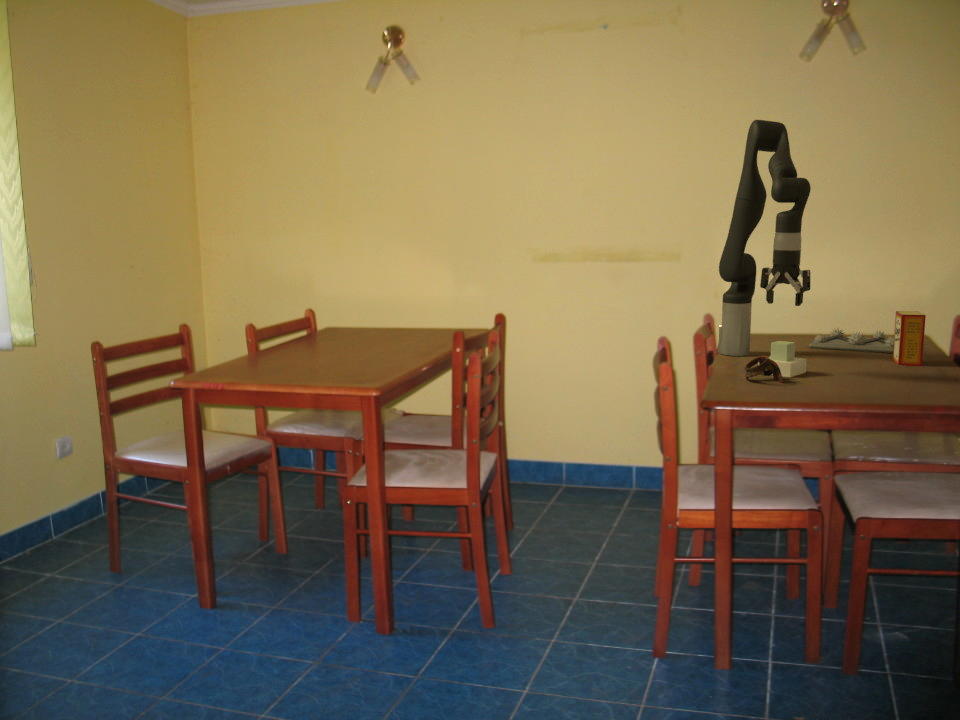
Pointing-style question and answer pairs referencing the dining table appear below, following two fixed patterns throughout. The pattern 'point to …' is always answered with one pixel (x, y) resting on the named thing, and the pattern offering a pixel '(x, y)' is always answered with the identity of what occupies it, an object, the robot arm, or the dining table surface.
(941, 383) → the dining table surface
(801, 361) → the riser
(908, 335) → the baking soda box
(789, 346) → the cube
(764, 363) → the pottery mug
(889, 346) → the decorative plate
